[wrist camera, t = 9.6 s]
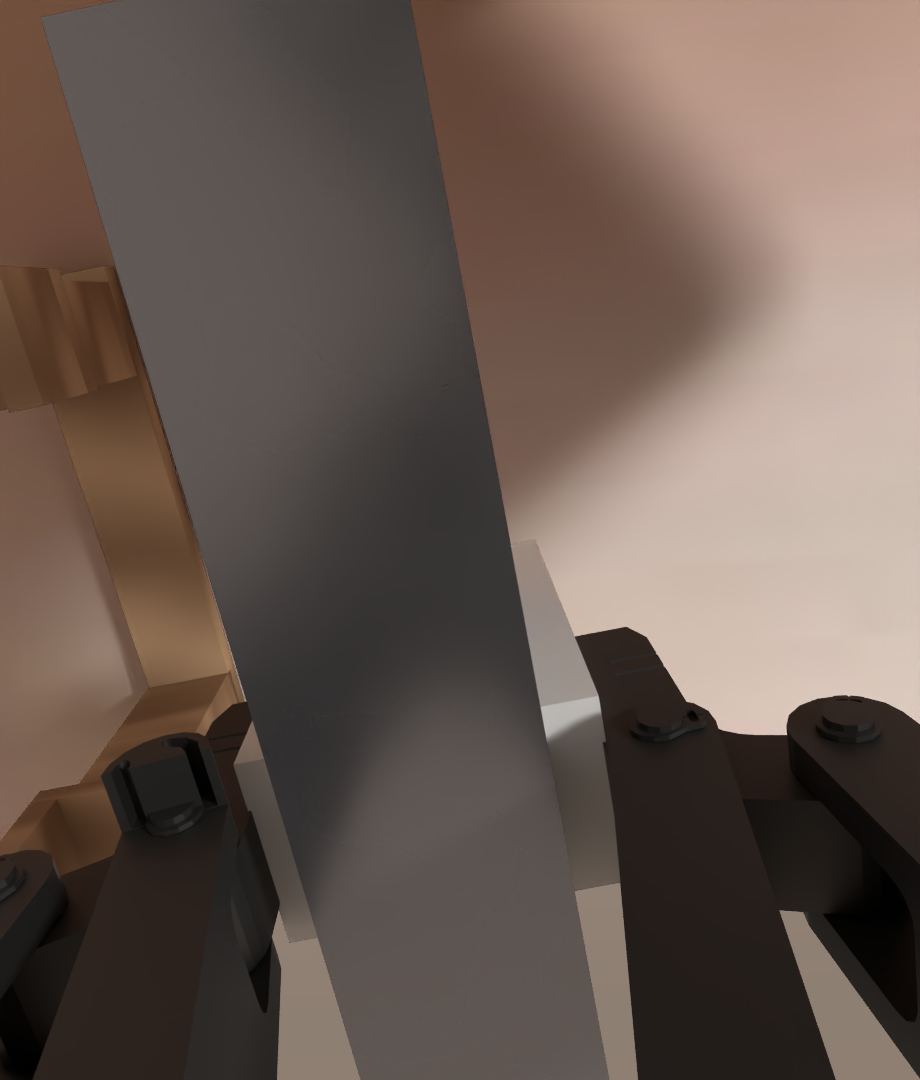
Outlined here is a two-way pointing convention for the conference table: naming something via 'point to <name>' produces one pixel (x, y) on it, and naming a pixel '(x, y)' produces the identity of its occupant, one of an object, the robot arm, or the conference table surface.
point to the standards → (114, 531)
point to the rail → (345, 504)
